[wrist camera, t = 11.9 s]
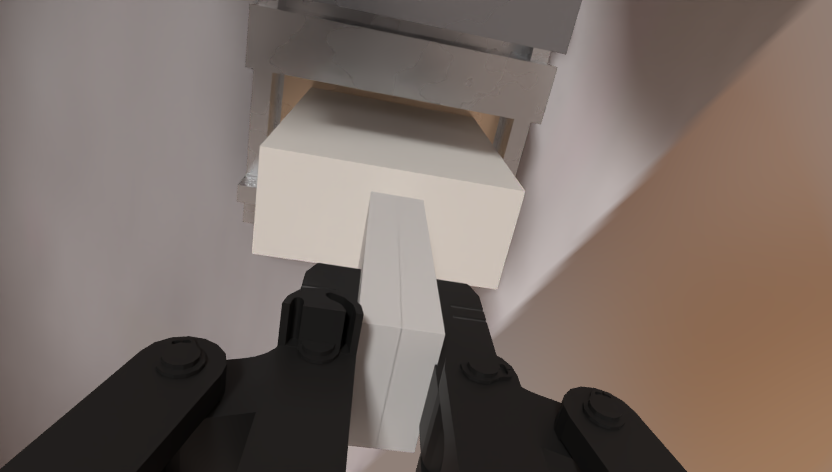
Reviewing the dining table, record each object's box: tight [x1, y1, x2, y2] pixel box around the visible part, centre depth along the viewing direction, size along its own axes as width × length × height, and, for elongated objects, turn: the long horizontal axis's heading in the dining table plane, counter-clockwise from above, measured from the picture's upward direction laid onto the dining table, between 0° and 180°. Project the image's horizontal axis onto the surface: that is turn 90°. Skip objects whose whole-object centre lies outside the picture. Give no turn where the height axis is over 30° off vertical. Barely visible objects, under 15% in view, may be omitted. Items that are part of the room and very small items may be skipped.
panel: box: [252, 87, 525, 290], centre depth 21 cm, size 8×4×11 cm, turn 79°
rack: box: [237, 0, 582, 224], centre depth 21 cm, size 13×16×12 cm
